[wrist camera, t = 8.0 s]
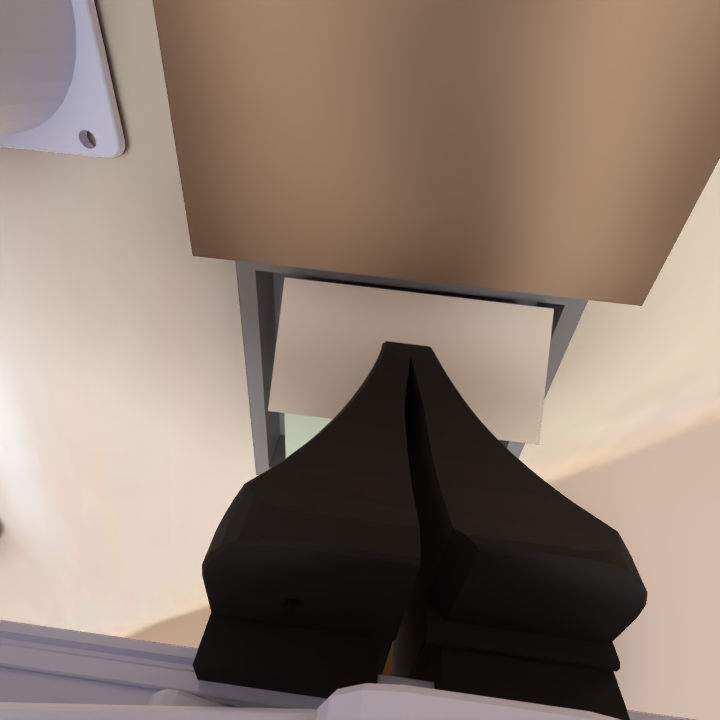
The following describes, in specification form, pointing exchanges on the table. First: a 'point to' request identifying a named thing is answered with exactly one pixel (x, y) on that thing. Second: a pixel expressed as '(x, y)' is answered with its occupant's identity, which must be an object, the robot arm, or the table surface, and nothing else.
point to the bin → (267, 281)
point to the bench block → (446, 136)
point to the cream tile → (419, 327)
